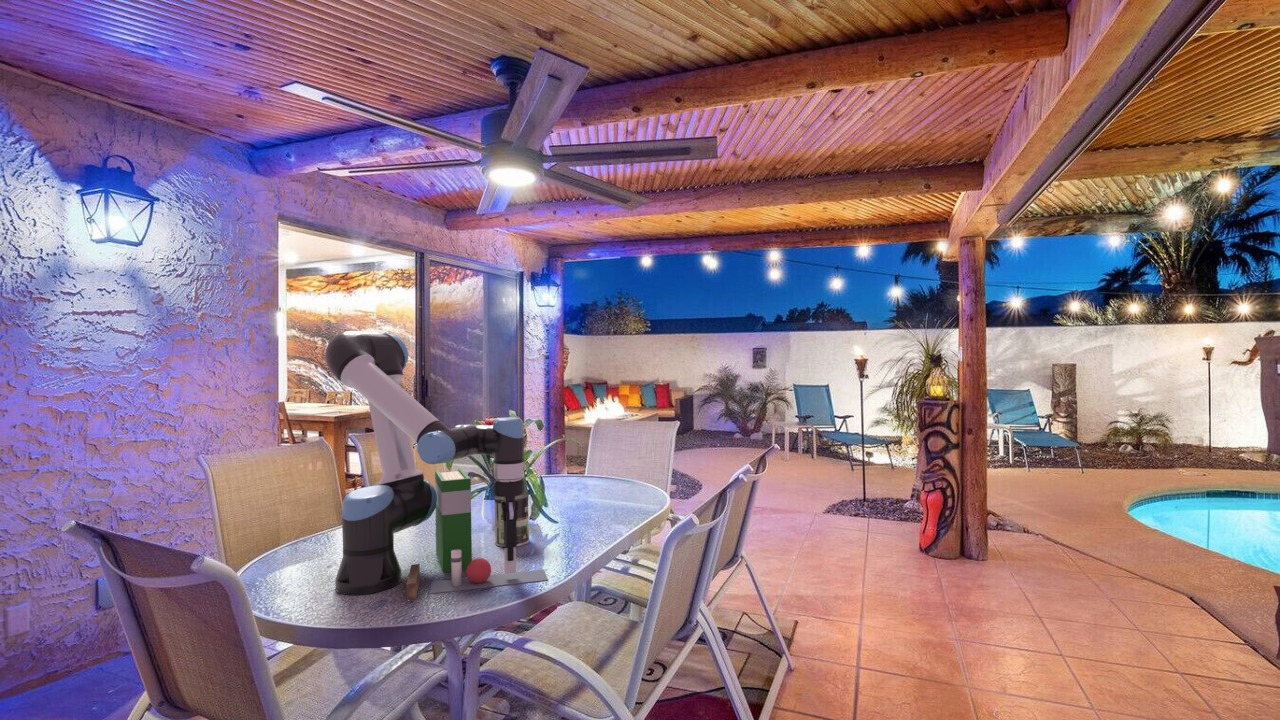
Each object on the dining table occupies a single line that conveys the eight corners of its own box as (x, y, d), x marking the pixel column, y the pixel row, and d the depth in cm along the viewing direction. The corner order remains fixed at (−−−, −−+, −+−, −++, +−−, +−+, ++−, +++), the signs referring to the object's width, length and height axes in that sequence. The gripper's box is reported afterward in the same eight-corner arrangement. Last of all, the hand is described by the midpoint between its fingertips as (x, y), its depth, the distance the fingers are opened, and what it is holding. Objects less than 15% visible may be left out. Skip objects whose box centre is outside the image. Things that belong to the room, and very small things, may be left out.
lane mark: (430, 594, 145) (430, 593, 145) (431, 582, 153) (431, 581, 153) (548, 580, 153) (548, 579, 153) (543, 570, 161) (543, 569, 161)
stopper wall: (406, 601, 141) (406, 584, 141) (411, 580, 154) (411, 564, 154) (416, 600, 141) (415, 583, 141) (419, 579, 155) (419, 563, 155)
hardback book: (436, 553, 176) (435, 470, 176) (462, 549, 179) (461, 468, 179) (443, 572, 160) (441, 481, 160) (471, 568, 163) (470, 478, 163)
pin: (451, 587, 149) (450, 552, 149) (451, 584, 152) (451, 549, 152) (462, 586, 150) (461, 551, 150) (461, 582, 152) (461, 548, 152)
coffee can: (528, 536, 192) (527, 491, 192) (530, 545, 182) (529, 498, 182) (494, 539, 190) (493, 493, 190) (494, 548, 180) (494, 501, 180)
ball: (491, 560, 150) (492, 584, 150) (489, 553, 156) (490, 577, 156) (466, 564, 148) (467, 588, 148) (465, 557, 154) (466, 581, 154)
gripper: (527, 482, 149) (528, 579, 149) (521, 473, 162) (522, 562, 162) (495, 484, 147) (496, 582, 147) (492, 475, 160) (493, 565, 160)
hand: (510, 571), depth 155 cm, fingers closed
